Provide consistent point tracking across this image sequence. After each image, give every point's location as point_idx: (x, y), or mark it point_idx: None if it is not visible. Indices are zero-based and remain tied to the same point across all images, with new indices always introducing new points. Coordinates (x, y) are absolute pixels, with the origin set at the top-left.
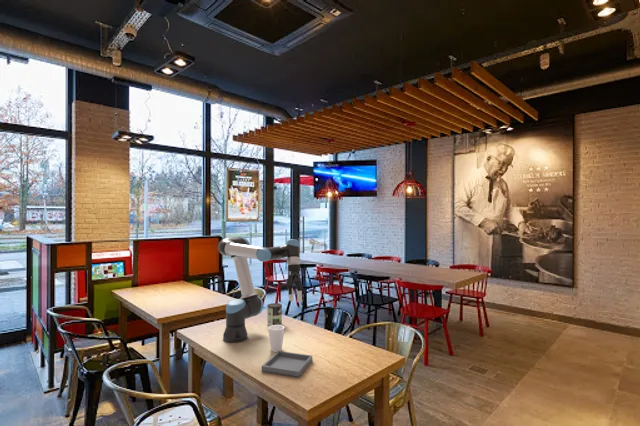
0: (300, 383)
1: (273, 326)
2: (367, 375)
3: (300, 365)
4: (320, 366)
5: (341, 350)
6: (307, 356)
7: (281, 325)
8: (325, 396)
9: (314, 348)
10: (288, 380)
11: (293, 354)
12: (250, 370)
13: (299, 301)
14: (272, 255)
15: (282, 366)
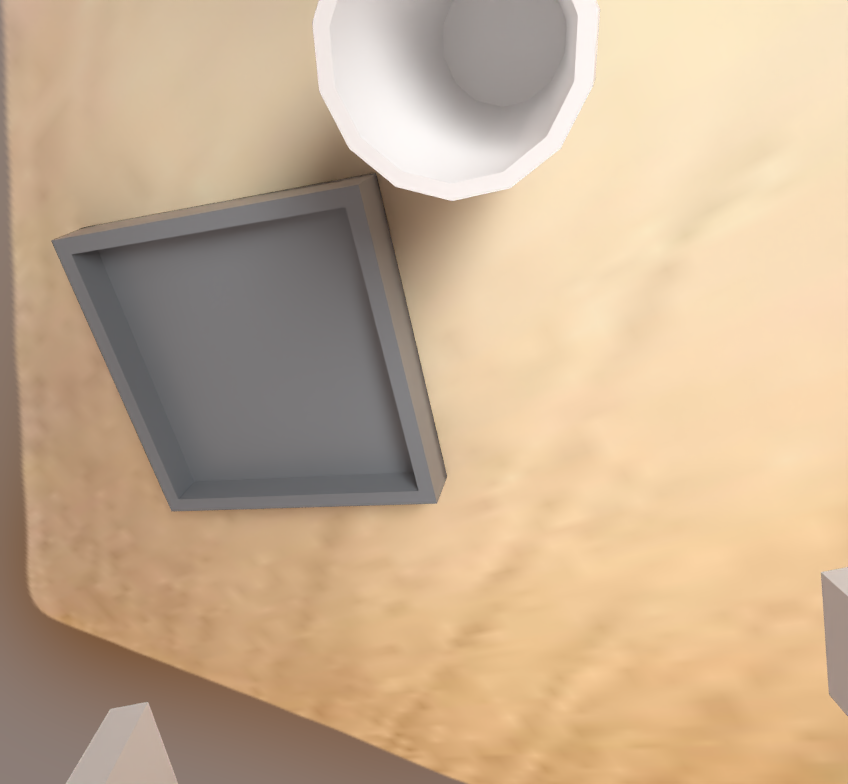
0: (155, 515)
1: None
2: (443, 770)
3: (312, 444)
4: (402, 548)
5: (761, 608)
6: (415, 467)
7: (579, 72)
8: (148, 645)
9: (716, 398)
10: (133, 446)
11: (385, 350)
12: (38, 127)
13: (836, 644)
14: None
15: (219, 337)
